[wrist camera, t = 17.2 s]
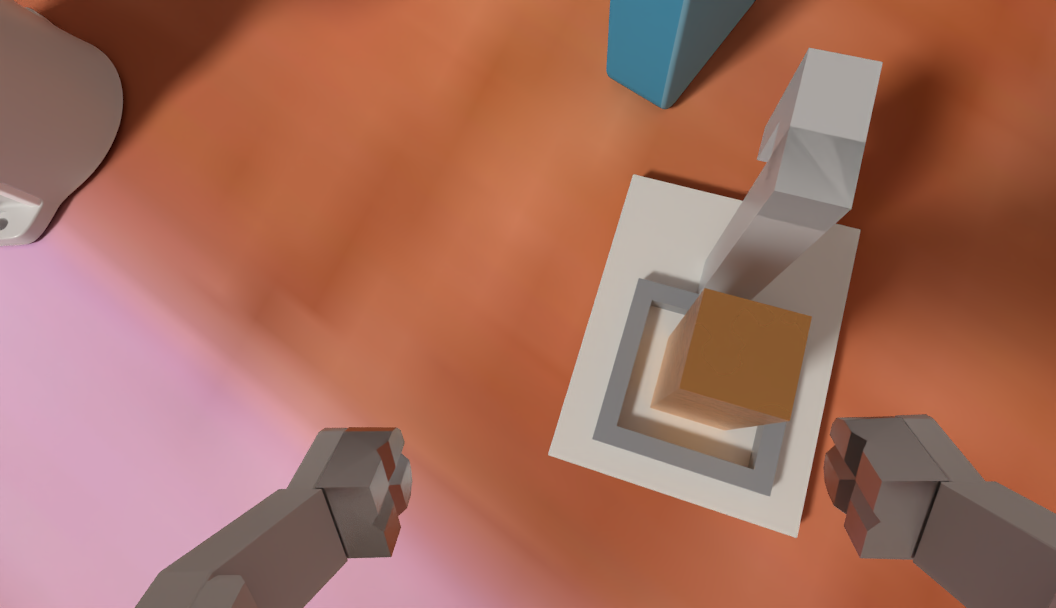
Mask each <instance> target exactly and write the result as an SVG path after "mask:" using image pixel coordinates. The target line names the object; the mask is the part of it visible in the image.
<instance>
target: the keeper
mask: <svg viewBox="0 0 1056 608" xmlns="http://www.w3.org/2000/svg"><path fill="white" fill-rule="evenodd" d="M882 63H883V62H879V61H874V60H869V59H864V58H859V57H854V56H849V55H844V54H839V53H834V52H828V51H823V50H818V49H813V48H809V49H808V51H807V53H806V54H805V56H804V58H803V60H802V62H801V63H800V65H799V67H798V69H797V71H796V72H795V74H794V76H793V78H792V80H791V81H790V83H789V85H788V87H787V89H786V90H785V92H784V94H783V96H782V98H781V99H780V101H779V103H778V105H777V107H776V108H775V110H774V112H773V114H772V116H771V117H770V119H769V121H768V123H767V125H766V126H765V130H764V134H763V138H762V142H761V146H760V150H759V153H758V157H757V160H760V161H764V162H767V163H766V165H765V167H764V168H763V170H762V171H761V173H760V175H759V176H758V178H757V179H756V181H755V182H754V184H753V186H752V187H751V189H750V190H749V192H748V194H747V195H746V197H745V198H744V200H743V201H741V200H737V199H733V198H729V197H725V196H721V195H716V194H712V193H708V192H704V191H700V190H696V189H692V188H688V187H684V186H679V185H675V184H671V183H667V182H663V181H659V180H655V179H651V178H647V177H642V176H638V175H634V174H633V177H632V180H631V183H630V187H629V190H628V193H627V197H626V200H625V203H624V206H623V210H622V213H621V216H620V220H619V223H618V226H617V229H616V233H615V236H614V239H613V243H612V246H611V249H610V253H609V256H608V259H607V262H606V266H605V269H604V272H603V276H602V279H601V282H600V285H599V289H598V292H597V295H596V299H595V302H594V305H593V309H592V312H591V315H590V318H589V322H588V325H587V328H586V332H585V335H584V338H583V341H582V345H581V348H580V351H579V355H578V358H577V361H576V365H575V368H574V371H573V374H572V378H571V381H570V384H569V388H568V391H567V394H566V397H565V401H564V404H563V407H562V411H561V414H560V417H559V421H558V424H557V427H556V430H555V434H554V437H553V440H552V444H551V447H550V450H549V453H548V455H550V456H553V457H556V458H559V459H562V460H565V461H568V462H571V463H574V464H577V465H580V466H583V467H586V468H589V469H592V470H595V471H598V472H601V473H604V474H607V475H610V476H613V477H616V478H619V479H622V480H625V481H628V482H631V483H634V484H637V485H640V486H643V487H646V488H649V489H652V490H654V491H657V492H660V493H663V494H666V495H669V496H672V497H675V498H678V499H681V500H684V501H687V502H690V503H693V504H696V505H699V506H702V507H705V508H708V509H711V510H714V511H717V512H720V513H723V514H726V515H729V516H732V517H735V518H738V519H741V520H744V521H747V522H750V523H753V524H756V525H759V526H762V527H765V528H768V529H771V530H774V531H777V532H780V533H783V534H786V535H789V536H792V537H795V538H797V535H798V531H799V526H800V521H801V516H802V511H803V506H804V502H805V497H806V492H807V487H808V482H809V477H810V473H811V468H812V463H813V458H814V453H815V448H816V444H817V439H818V434H819V429H820V424H821V419H822V415H823V410H824V405H825V400H826V395H827V390H828V386H829V381H830V376H831V371H832V366H833V361H834V357H835V352H836V347H837V342H838V337H839V332H840V328H841V323H842V318H843V313H844V308H845V303H846V299H847V294H848V289H849V284H850V279H851V274H852V270H853V265H854V260H855V255H856V250H857V245H858V241H859V236H860V231H861V230H860V229H856V228H852V227H848V226H844V225H840V224H836V223H837V222H838V221H839V220H840V219H841V218H842V217H843V216H844V215H845V214H846V213H848V212H849V211H850V210H851V209H852V204H853V199H854V195H855V190H856V185H857V181H858V176H859V171H860V166H861V162H862V157H863V152H864V148H865V143H866V138H867V133H868V129H869V124H870V119H871V115H872V110H873V105H874V101H875V96H876V91H877V86H878V82H879V77H880V72H881V68H882ZM704 288H707V289H711V290H714V291H718V292H722V293H726V294H729V295H733V296H737V297H741V298H744V299H748V300H752V301H756V302H759V303H763V304H767V305H771V306H775V307H778V308H782V309H786V310H790V311H793V312H797V313H801V314H805V315H808V316H812V319H811V324H810V329H809V333H808V338H807V343H806V348H805V352H804V357H803V362H802V366H801V371H800V376H799V381H798V385H797V390H796V395H795V399H794V404H793V409H792V414H791V418H790V421H787V422H780V423H773V424H766V425H759V426H753V427H746V428H739V429H732V430H722V429H718V428H715V427H712V426H708V425H705V424H702V423H699V422H695V421H692V420H689V419H685V418H682V417H679V416H676V415H672V414H669V413H666V412H662V411H659V410H656V409H653V408H650V405H651V402H652V398H653V394H654V390H655V387H656V383H657V379H658V375H659V372H660V368H661V364H662V360H663V356H664V353H665V349H666V345H667V341H668V338H669V336H670V335H671V333H672V332H673V331H674V329H675V328H676V327H677V325H678V324H679V322H680V321H681V320H682V318H683V317H684V316H685V314H686V313H687V311H688V310H689V309H690V307H691V306H692V305H693V303H694V302H695V301H696V299H697V298H698V296H699V295H700V294H701V292H702V291H703V290H704Z"/></svg>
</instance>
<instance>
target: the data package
mask: <svg viewBox="0 0 1056 608" xmlns="http://www.w3.org/2000/svg"><path fill="white" fill-rule="evenodd" d="M754 1H755V0H610V15H609V33H608V52H607V74H608V76H609V77H610V78H612V79H613V80H615V81H617V82H618V83H620V84H622V85H623V86H625V87H627V88H628V89H630V90H632V91H633V92H635V93H637V94H638V95H640V96H642V97H643V98H645V99H647V100H648V101H650V102H652V103H653V104H655V105H657V106H658V107H660V108H662V109H668V108H669V107H671V106H672V105H673V104H674V103H675V102H676V100H677V99H678V98H679V97H680V95H681V94H682V93H683V92H684V90H685V89H686V88H687V87H688V85H689V84H690V83H691V81H692V80H693V79H694V78H695V76H696V75H697V74H698V73H699V71H700V70H701V69H702V68H703V66H704V65H705V64H706V62H707V61H708V60H709V59H710V57H711V56H712V55H713V54H714V52H715V51H716V50H717V48H718V47H719V46H720V45H721V43H722V42H723V41H724V40H725V38H726V37H727V36H728V35H729V33H730V32H731V31H732V29H733V28H734V27H735V26H736V24H737V23H738V22H739V21H740V19H741V18H742V17H743V15H744V14H745V13H746V12H747V10H748V9H749V8H750V7H751V5H752V4H753V3H754Z"/></svg>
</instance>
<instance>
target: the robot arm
mask: <svg viewBox="0 0 1056 608" xmlns="http://www.w3.org/2000/svg"><path fill="white" fill-rule="evenodd" d="M122 109H123V91H122V85H121V81H120V78H119V75H118V73H117V70H116V68H115V67H114V65H113V63H112V62H111V61H110V59H109V58H108V57H107V56H106V55H105V54H104V53H103V52H102V51H101V50H99V49H98V48H97V47H95V46H93V45H92V44H90V43H88V42H85V41H83V40H81V39H79V38H77V37H75V36H73V35H71V34H69V33H67V32H65V31H63V30H62V29H60V28H58V27H56V26H55V25H53V24H52V23H51V22H50V21H49V20H48V19H46V18H45V17H44V16H42V15H41V14H39V13H37V12H36V11H34V10H33V9H31V8H27V7H23V6H21V5H20V4H18V3H17V2H15V1H13V0H0V246H11V245H25V244H29V243H32V242H34V241H35V240H36V239H38V238H39V237H40V235H41V234H42V233H43V232H44V230H45V229H46V227H47V226H48V224H49V223H50V221H51V219H52V218H53V216H54V214H55V213H56V211H57V209H58V207H59V205H60V204H61V203H62V202H63V201H64V200H65V199H66V198H67V197H68V196H69V195H70V194H71V193H72V192H73V191H74V190H76V189H77V188H78V187H79V186H80V185H81V184H82V183H83V182H84V181H85V180H86V179H87V178H88V177H89V176H90V175H91V174H92V173H93V172H94V171H95V169H96V168H97V167H98V166H99V164H100V163H101V162H102V160H103V159H104V157H105V156H106V154H107V152H108V151H109V149H110V147H111V145H112V143H113V141H114V139H115V136H116V134H117V131H118V128H119V125H120V121H121V116H122ZM830 436H831V438H832V440H833V441H834V443H835V446H834V447H832V448H831V449H830V450H829V451H828V452H827V453H826V455H825V461H824V467H823V468H824V479H825V485H826V488H827V491H828V494H829V496H830V499H831V501H832V503H833V505H834V506H835V507H837V508H838V509H840V510H841V511H842V512H844V513H845V514H847V515H846V519H845V523H844V527H845V529H846V531H847V533H848V535H849V537H850V539H851V541H852V543H853V545H854V547H855V549H856V551H857V553H858V555H859V557H860V558H875V559H910V560H913V562H914V563H915V564H916V565H917V566H918V567H919V568H921V569H922V570H923V571H924V572H925V573H927V574H928V575H929V576H930V577H931V578H932V579H934V580H935V581H936V582H937V583H938V584H940V585H941V586H942V587H943V588H944V589H946V590H947V591H948V592H949V593H950V594H951V595H953V596H954V597H955V598H956V599H957V600H959V601H960V602H961V603H962V604H963V605H964V606H966V607H967V608H1056V514H1055V513H1053V512H1051V511H1049V510H1048V509H1046V508H1044V507H1042V506H1040V505H1038V504H1036V503H1034V502H1033V501H1031V500H1029V499H1027V498H1025V497H1023V496H1021V495H1020V494H1018V493H1016V492H1014V491H1012V490H1010V489H1008V488H1006V487H1005V486H1003V485H1001V484H999V483H997V482H986V481H985V480H984V479H983V478H982V476H981V475H980V474H979V473H978V472H977V470H976V469H975V468H974V467H973V466H972V464H971V463H970V462H969V461H968V460H967V458H966V457H965V456H964V455H963V454H962V452H961V451H960V450H959V449H958V448H957V446H956V445H955V444H954V443H953V442H952V440H951V439H950V438H949V437H948V436H947V434H946V433H945V432H944V431H943V430H942V428H941V427H940V426H939V425H938V424H937V422H936V421H935V420H934V419H933V418H932V417H930V416H928V415H926V414H922V415H897V416H882V417H847V418H836V419H835V421H834V422H833V424H832V427H831V432H830ZM403 446H404V439H403V436H402V433H401V430H400V429H398V428H381V427H349V428H324V429H323V430H321V431H320V432H319V433H318V435H317V436H316V438H315V440H314V442H313V443H312V445H311V447H310V449H309V450H308V452H307V454H306V456H305V457H304V459H303V461H302V463H301V464H300V466H299V468H298V469H297V471H296V473H295V475H294V476H293V478H292V480H291V482H290V483H289V485H288V487H287V489H279V490H277V491H276V492H274V493H273V494H271V495H270V496H269V497H267V498H266V499H264V500H263V501H261V502H260V503H259V504H257V505H256V506H254V507H253V508H251V509H250V510H249V511H247V512H246V513H244V514H243V515H241V516H240V517H238V518H237V519H236V520H234V521H233V522H231V523H230V524H228V525H227V526H226V527H224V528H223V529H221V530H220V531H218V532H217V533H215V534H214V535H213V536H211V537H210V538H208V539H207V540H205V541H204V542H203V543H201V544H200V545H198V546H197V547H195V548H194V549H192V550H191V551H190V552H188V553H187V554H185V555H184V556H182V557H181V558H180V559H178V560H177V561H175V562H174V563H172V564H171V565H169V566H168V567H167V568H165V569H164V570H162V571H161V572H160V573H159V574H158V575H157V577H156V578H155V580H154V581H153V582H152V584H151V585H150V587H149V588H148V590H147V591H146V592H145V594H144V595H143V597H142V598H141V599H140V601H139V602H138V604H137V605H136V607H135V608H303V607H304V606H305V605H306V604H307V603H308V602H309V601H310V600H311V599H312V598H313V597H314V596H315V595H316V594H317V593H318V591H319V590H320V589H321V588H322V587H323V586H324V585H325V584H326V583H327V582H328V581H329V580H330V579H331V578H332V577H333V576H334V575H335V574H336V572H337V571H338V570H339V569H340V568H341V567H342V566H343V565H344V564H345V563H346V562H347V558H374V557H391V556H392V553H393V550H394V547H395V544H396V541H397V538H398V535H399V532H400V528H401V526H400V522H399V519H398V516H399V515H400V514H401V513H402V512H403V511H404V510H405V509H407V506H408V503H409V499H410V496H411V487H412V473H411V466H410V462H409V460H408V459H407V458H406V457H405V456H404V455H403V454H401V452H402V449H403Z"/></svg>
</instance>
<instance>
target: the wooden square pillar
mask: <svg viewBox="0 0 1056 608" xmlns="http://www.w3.org/2000/svg"><path fill="white" fill-rule="evenodd" d="M811 319H812V316H808V315H805V314H801V313H797V312H793V311H790V310H786V309H782V308H778V307H775V306H771V305H767V304H763V303H759V302H756V301H752V300H748V299H744V298H741V297H737V296H733V295H729V294H726V293H722V292H718V291H714V290H711V289H707V288H704V290H703V291H702V292H701V294H700V295H699V296H698V298H697V299H696V301H695V302H694V303H693V305H692V306H691V307H690V309H689V310H688V311H687V313H686V314H685V316H684V317H683V318H682V320H681V321H680V322H679V324H678V325H677V327H676V328H675V329H674V331H673V332H672V333H671V335H670V336H669V338H668V341H667V345H666V349H665V353H664V356H663V360H662V364H661V368H660V372H659V375H658V379H657V383H656V387H655V390H654V394H653V398H652V402H651V405H650V408H653V409H656V410H659V411H662V412H666V413H669V414H672V415H676V416H679V417H682V418H685V419H689V420H692V421H695V422H699V423H702V424H705V425H708V426H712V427H715V428H718V429H722V430H732V429H739V428H746V427H753V426H759V425H766V424H773V423H780V422H787V421H790V418H791V414H792V409H793V404H794V399H795V395H796V390H797V385H798V381H799V376H800V371H801V366H802V362H803V357H804V352H805V348H806V343H807V338H808V333H809V329H810V324H811Z"/></svg>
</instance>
